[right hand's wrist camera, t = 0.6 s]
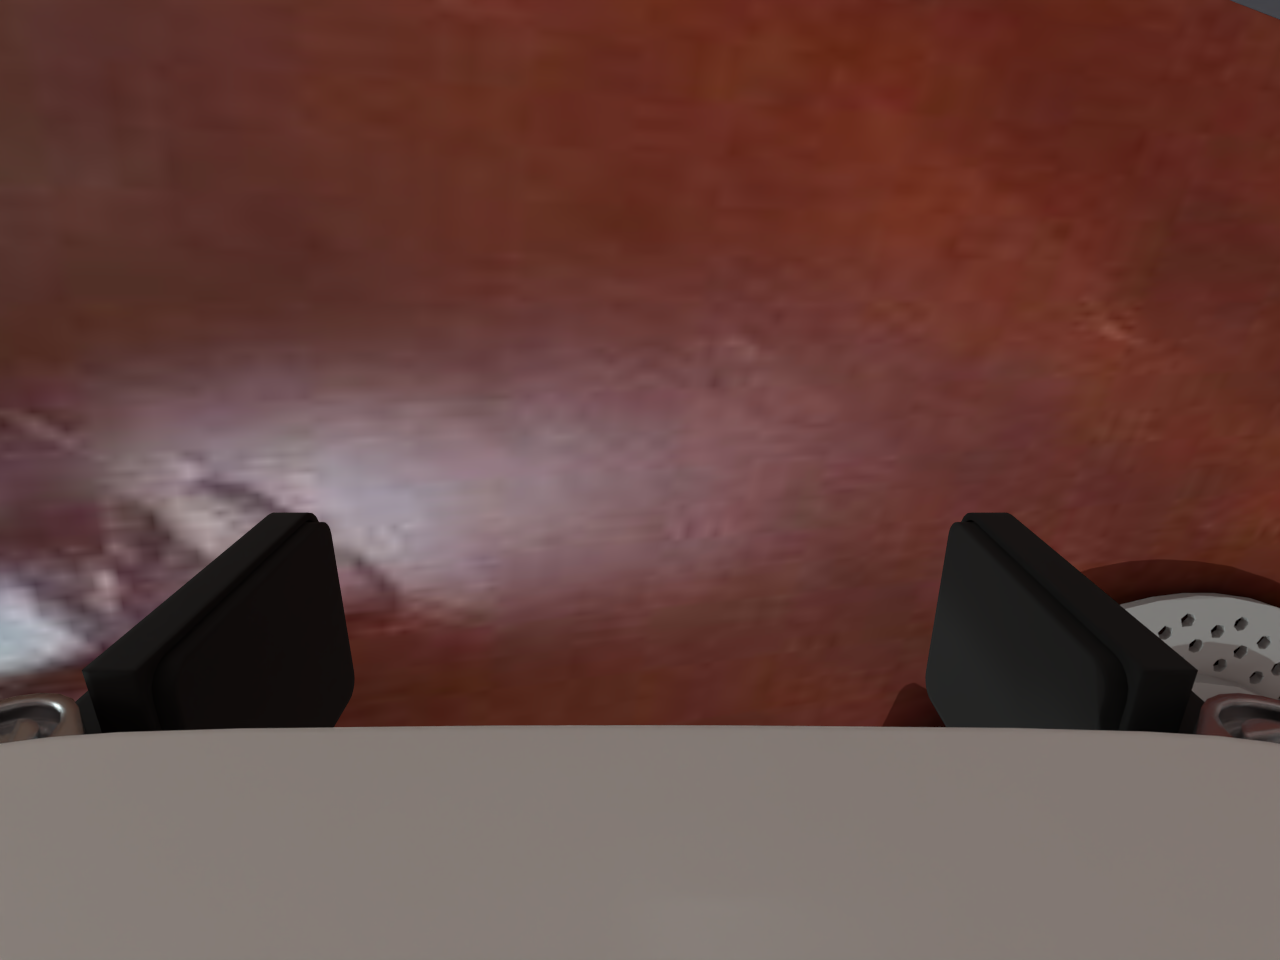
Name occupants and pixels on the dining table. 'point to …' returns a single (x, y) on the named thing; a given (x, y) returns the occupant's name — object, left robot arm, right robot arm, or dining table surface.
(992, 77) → the dining table surface
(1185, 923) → the right robot arm
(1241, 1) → the bar
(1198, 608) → the brake disc
